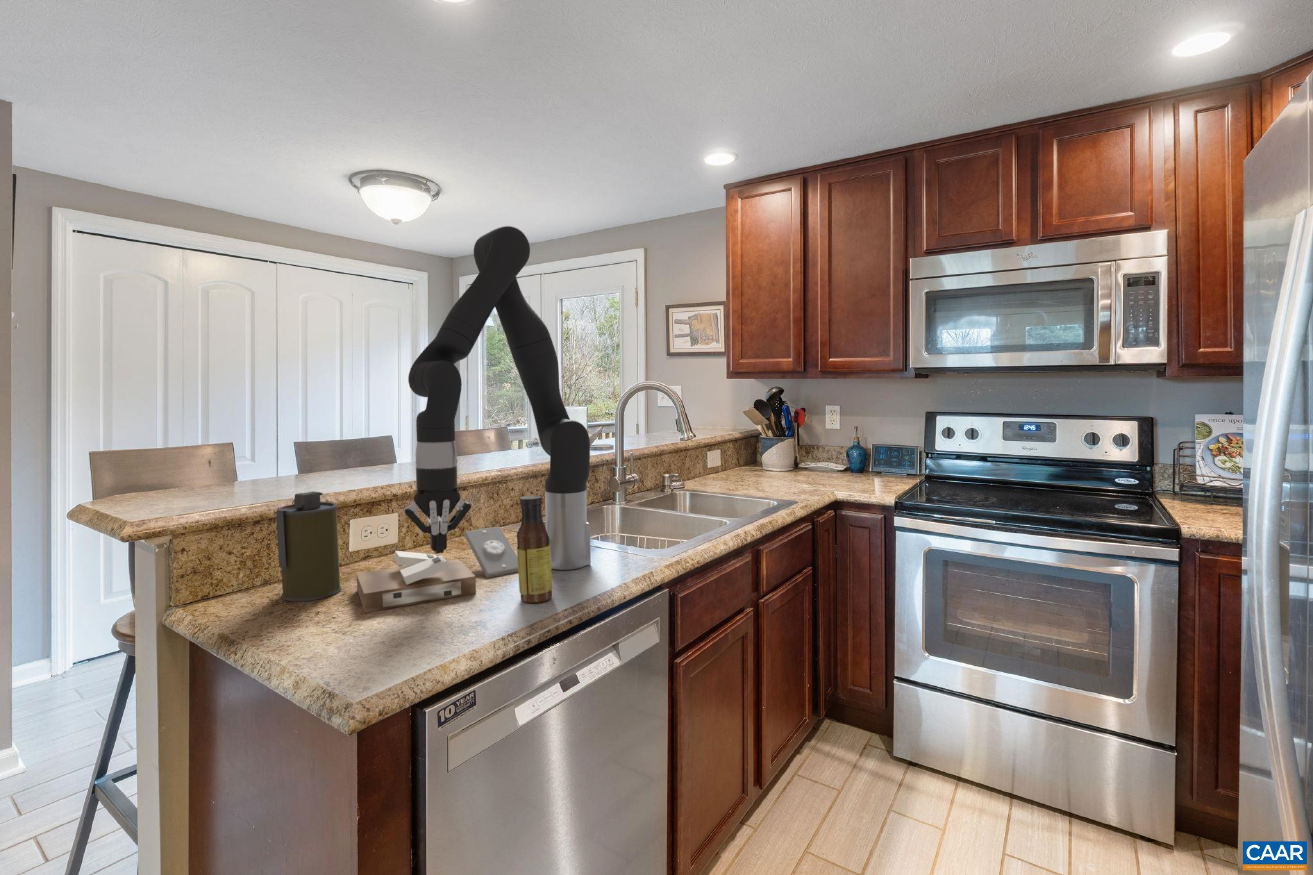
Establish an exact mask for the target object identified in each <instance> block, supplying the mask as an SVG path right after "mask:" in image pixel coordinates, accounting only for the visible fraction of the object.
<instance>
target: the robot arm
mask: <svg viewBox="0 0 1313 875" xmlns="http://www.w3.org/2000/svg"><path fill="white" fill-rule="evenodd" d="M530 253H531V246H530V242H529V239H528V238H527V236H526V234H525V233H524V232H523V230H521V229H519V228H518V227H515V226H513V225H512V226H511V225H504V226H500V227H499V226H498V227H497V228H494V229H493V230H491V231H489V232H486V233H485V234H483V235H482V236H480V237H479V238H477V239H476V241H475V243H474V247H473V258H474V261H475V265H476V268H477V270H478V274H477V276H476V277H475V278H474V280H473V281H472V282H471V284H470V285H469V286H468V288H467V289H466V290H465V291H464V292H463V294H461V296H460V297H459V298H458V300H457V301H456V302H455V304H453V306H452V308H451V309H450V310H449V312H448V313H447V315H446V317H445V319H444V320H443V322H442V324H441V326H440V328H439V330H438V332H437V334H436V336H435V337H434V338H433V340H432V341H430V342H429V343H428V344H427V346H426V347H425V348H424V349H423V351H422V352H420V354H419V355H418V357H417V358H416V359H415V360H414V361H413V363H412V365H411V367H410V370H409V373H408V377H407V378H408V379H407V380H408V381H407V382H408V385H409V388H410V390H411V392H413V393H414V394H415V395H416V396H419V397H422V398H426V406H425V409H424V410H422V411H420V412H418V413H417V415H416V419H415V422H416V423H415V426H416V428H415V429H416V447H415V478H416V479H415V484H416V485H415V486H416V489H415V490H416V492H415V493H416V494H415V495H414V497H413V501H412V503H411V504H409V505H408V506H405V507H404V508H403V509H402V512H403V513H404V514H405V515H406V516H407V517H408V519H409V520H411V522H412V523H413V524H414V525H415V526H416V527H417V528H418V529H419V530H420V532H422V533H423V534H429V538H430V549H431V550H432V552H434V553H435V555H436V554H443V553H444V552H445V551H446V550H447V548H448V541H447V540H448V537H447V536H448V533H449V532H450V531H454V530H456V529H457V528H458V526H459V525H460V524H461V522H462V521H463V519H464V518H465V517H466V515H467V514H468V512H469V511H470V510H471V508H472V504H471V503H469V502H468V501H466V500H463V499H462V498H461V494H460V493H459V490H458V461H459V460H458V452H457V446H456V445H457V444H456V424H455V419H456V415H457V411H458V408H459V403H460V398H461V395H462V377H461V373H460V371H459V369H458V368H457V366H456V365H455V364H456V363H457V362H460V361H462V360H464V359H466V358H467V357H468V356H469V355H470V353H471V352H472V350H473V348H474V346H475V345H476V342H477V340H478V338H479V336H480V335H481V333H482V331H483V328H484V327H485V325H486V323H487V322H488V319H489V318H490V316H491V314H492V313H493V312H494V309H495V310H496V314H497V315H498V319H499V321H500V323H501V327H502V330H503V333H504V336H505V338H506V341H507V345H508V348H509V351H510V354H511V356H512V359H513V360H512V361H513V362H514V365H515V368H516V370H517V373H518V374H519V378H520V381H521V383H522V386H523V389H524V391H525V394H526V396H527V398H528V402H529V403H530V406H531V410H532V413H533V417H534V422H535V426H536V430H537V435H538V439H539V444H540V446H541V448H542V450H543V452H544V453H546V454H547V455H548V456H549V457H550V459H549V460H550V461H549V474H548V476H547V477H546V478H545V481H544V495H545V496H544V497H545V498H544V502H545V503H544V504H545V528H546V531H547V534H548V536H549V539H550V553H551V570H560V571H570V570H576V569H581V568H584V567H586V566H589V565H591V564H592V563H591V562H592V561H591V560H592V559H591V557H592V556H591V554H592V553H591V552H592V551H591V524H590V522H588V520H587V517H588V516H587V482H588V480H589V476H590V463H591V462H590V461H591V460H590V459H591V458H590V457H591V456H590V455H591V442H590V440H591V439H590V435H589V431H588V430H587V428H586V427H585V425H584V424H582V423H581V422H580V421H578V420H574V419H571V418H570V416H569V414H568V412H567V409H566V407H565V404H564V401H563V398H562V394H561V389H560V388H561V387H560V371H559V370H560V369H559V361H558V356H557V352H556V349H555V345H554V342H553V340H552V337H551V334H550V330H549V329H548V327H547V325H546V324H545V322H544V321H543V320H542V319H541V317H540V316H539V315H538V314H537V312H536V311H535V310H534V309H533V308H532V307H531V305H530V304H529V303H528V302H527V300H526V298H525V296H524V295H523V293H522V290H521V288H520V287H521V286H520V285H519V284H520V283H519V282H518V278H517V276H518V275H519V273H520V272H521V271H522V269H523V268H524V267H525V266H526V264H527V263H528V261H529V259H530ZM455 507H456V509H457V511H456V512H455V513H454V514H453V515H452V516H451V519H450V520H449V515H450V514H451V513H453V511H454V509H455ZM418 508H419V509H420V511H421V512H422V513H423V514H424V515H425V516H426V517H427V522H428V525H427V524H424V522H423V521H422V520H421V519H420V518H419V517H418V516H417V515H418V513H419V511H418Z"/></svg>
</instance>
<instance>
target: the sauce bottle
mask: <svg viewBox="0 0 1313 875" xmlns="http://www.w3.org/2000/svg"><path fill="white" fill-rule="evenodd" d="M542 498H543V497H542V496H541V495H535V494H534V495H533V494H532V495H525V496H521V497H520V499H519V504H520V506H521V522H520V526H519V528H518V530H517V533H516V542H517V544H516V545H517V547H516V555H517V557H518V572H517V573H518V587H519V588H518V590H519V594H520V600H521V601H522V602H524V603H525V602H526V603H529V604H538V603H539V604H540V603H544V602H547V601H549V600H550V599H551V598H552V597H553V595H552V594H553V592H552V590H553V573H552V572H553V571H552V568H551V553H550V539H549V536H548V534H547V531H546V524H545V522H544V520H543V515H542V514H543V513H542V504H543V500H542Z"/></svg>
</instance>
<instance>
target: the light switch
mask: <svg viewBox="0 0 1313 875" xmlns="http://www.w3.org/2000/svg"><path fill="white" fill-rule="evenodd" d="M463 535H464V538H465V540H466V542H467V544H468V545H469V547H470V550H471V551H472V553H473V555H474V557H475V558H476V560H477V562H478V564H479V567H480V568H481V571H482V573H483V574H484V575H485V577H486V578H487V579H488V578H493V577H499V576H502V575H503V576H504V575H508V574H512V573H518V556H517V552H515V550H514V549H513V547H512V545H511V543H510V542H509V540H508V538H507V536H506V535H505V533H504V531H503V529H502V528H501V527H500V526H493V527H487V528H486V527H485V528H480V529H479V528H478V529H472V530H466V531H464V534H463Z"/></svg>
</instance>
